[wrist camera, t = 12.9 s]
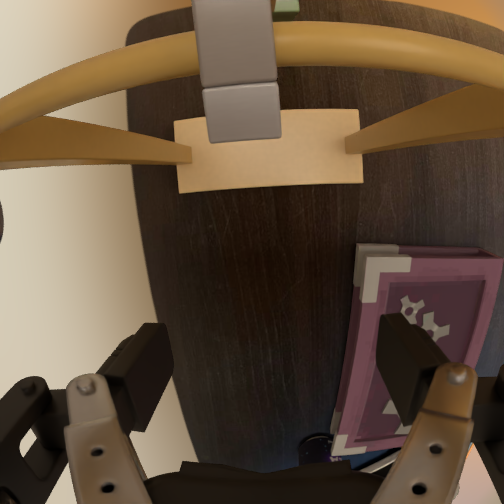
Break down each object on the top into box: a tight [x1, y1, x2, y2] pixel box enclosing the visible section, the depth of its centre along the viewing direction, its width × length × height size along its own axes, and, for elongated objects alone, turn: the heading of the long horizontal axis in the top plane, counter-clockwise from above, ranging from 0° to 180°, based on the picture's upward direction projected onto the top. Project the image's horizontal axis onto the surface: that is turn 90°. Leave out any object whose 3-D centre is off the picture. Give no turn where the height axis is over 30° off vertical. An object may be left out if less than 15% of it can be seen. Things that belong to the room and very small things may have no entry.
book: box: [330, 243, 504, 456], centre depth 30 cm, size 25×16×5 cm, turn 0°
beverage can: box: [298, 436, 341, 466], centre depth 32 cm, size 6×6×12 cm
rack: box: [0, 21, 504, 193], centre depth 16 cm, size 7×17×25 cm, turn 94°
